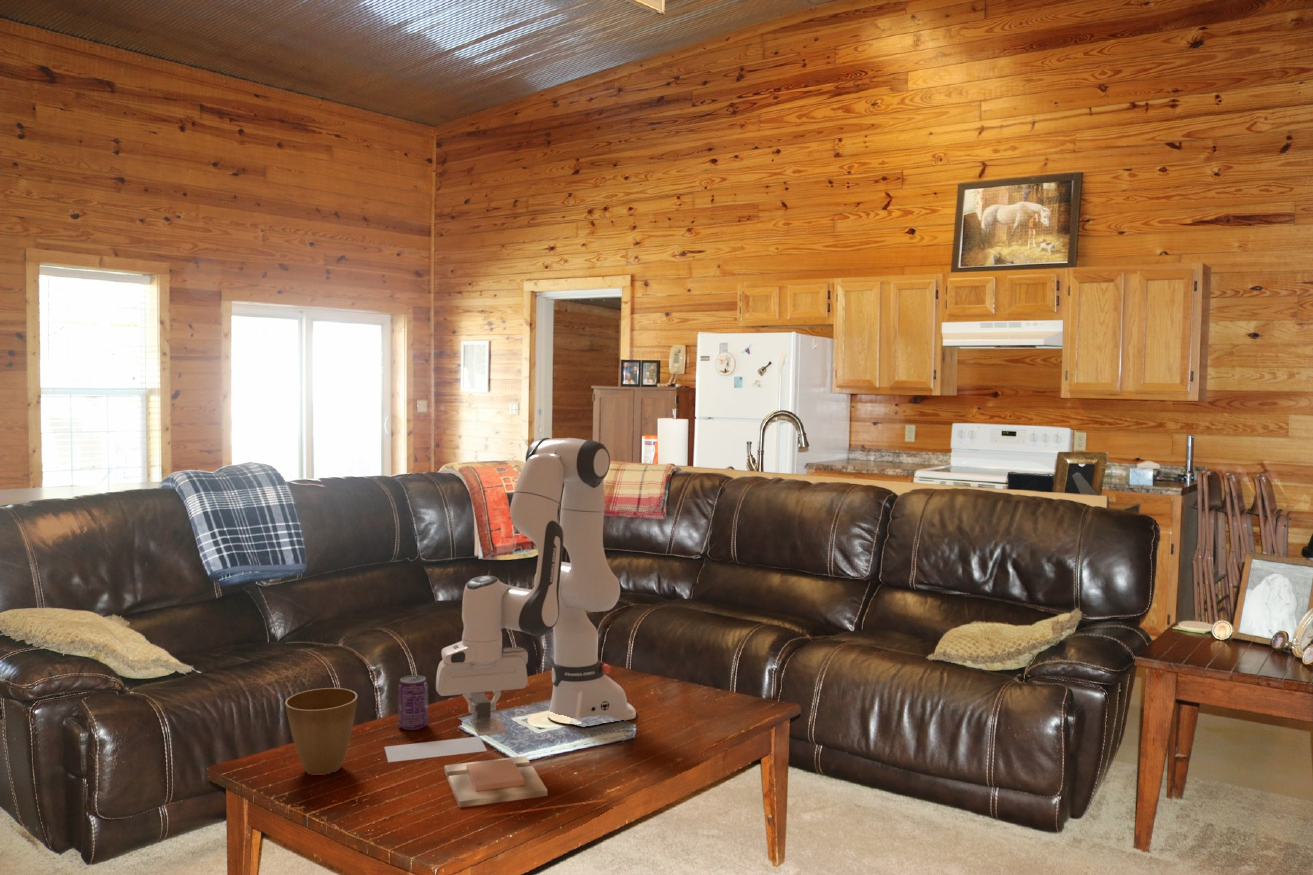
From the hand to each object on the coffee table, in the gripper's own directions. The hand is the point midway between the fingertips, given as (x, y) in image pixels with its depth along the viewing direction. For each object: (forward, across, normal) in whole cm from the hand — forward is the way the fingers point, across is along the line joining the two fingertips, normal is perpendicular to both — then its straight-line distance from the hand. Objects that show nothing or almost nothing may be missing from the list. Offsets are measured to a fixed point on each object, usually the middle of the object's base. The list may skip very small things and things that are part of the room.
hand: (482, 710), depth 228 cm
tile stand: (+11, 0, +15) cm, 18 cm away
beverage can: (+12, +12, -28) cm, 32 cm away
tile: (+9, 0, +9) cm, 13 cm away
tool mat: (+11, +9, -10) cm, 17 cm away
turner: (+2, 0, +3) cm, 3 cm away
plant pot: (+12, +34, -6) cm, 36 cm away
